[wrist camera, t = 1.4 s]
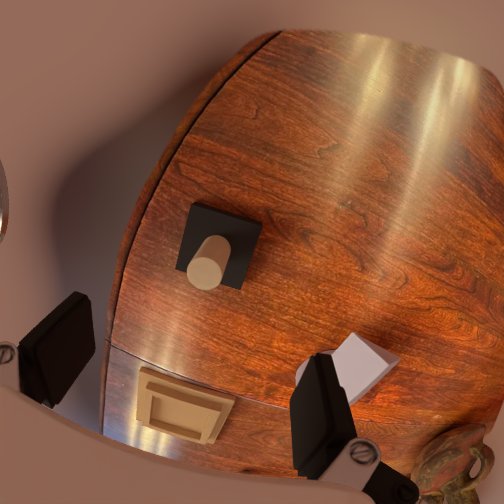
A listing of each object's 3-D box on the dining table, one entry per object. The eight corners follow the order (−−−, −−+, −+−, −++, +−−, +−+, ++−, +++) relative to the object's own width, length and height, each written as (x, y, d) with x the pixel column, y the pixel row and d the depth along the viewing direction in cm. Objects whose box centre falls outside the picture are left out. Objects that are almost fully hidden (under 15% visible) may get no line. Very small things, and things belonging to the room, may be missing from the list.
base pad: (137, 415, 40) (133, 426, 37) (141, 366, 35) (135, 377, 33) (214, 439, 41) (212, 450, 38) (235, 396, 36) (234, 409, 34)
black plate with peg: (179, 263, 29) (155, 296, 22) (195, 201, 27) (171, 218, 20) (241, 283, 30) (234, 323, 23) (262, 222, 28) (262, 247, 21)
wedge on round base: (345, 315, 31) (282, 383, 35) (360, 351, 24) (284, 422, 28) (392, 342, 32) (331, 402, 36) (411, 375, 26) (338, 437, 30)
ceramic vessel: (376, 470, 46) (394, 551, 22) (455, 404, 38) (499, 495, 14) (418, 467, 48) (438, 534, 24) (486, 407, 39) (525, 477, 16)
